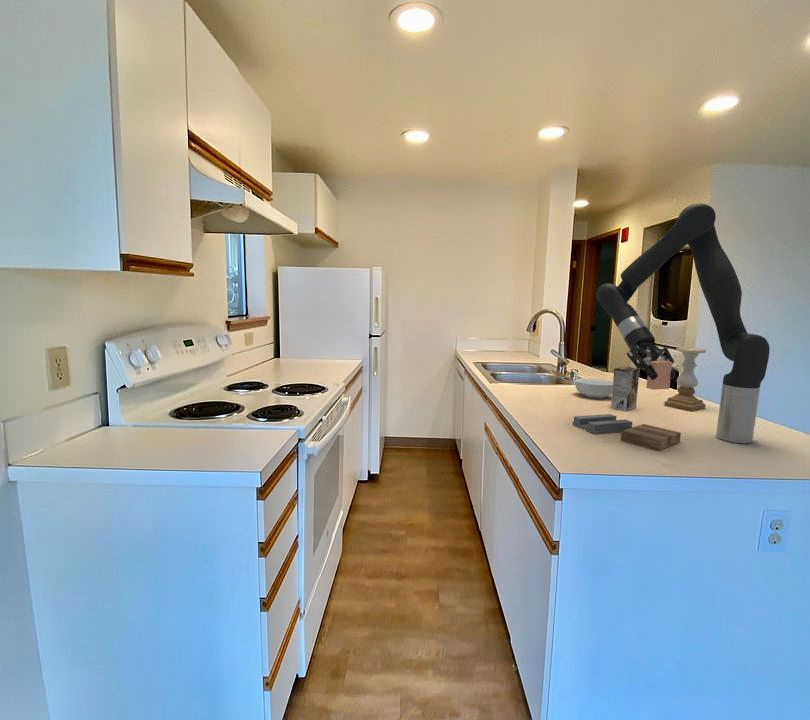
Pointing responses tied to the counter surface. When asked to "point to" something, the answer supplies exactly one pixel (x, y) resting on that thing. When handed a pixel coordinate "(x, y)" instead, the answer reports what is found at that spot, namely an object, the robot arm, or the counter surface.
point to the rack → (601, 423)
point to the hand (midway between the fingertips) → (664, 377)
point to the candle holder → (687, 383)
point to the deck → (651, 437)
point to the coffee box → (625, 388)
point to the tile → (660, 375)
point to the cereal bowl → (594, 387)
